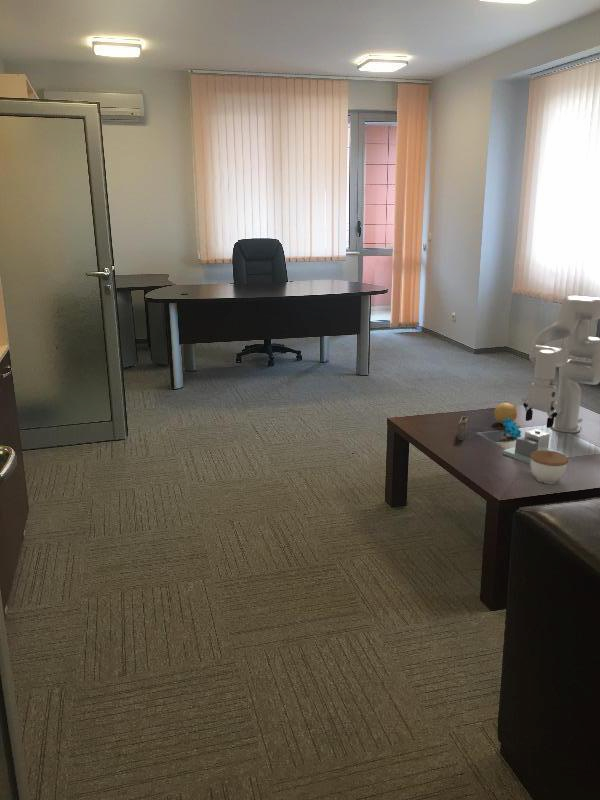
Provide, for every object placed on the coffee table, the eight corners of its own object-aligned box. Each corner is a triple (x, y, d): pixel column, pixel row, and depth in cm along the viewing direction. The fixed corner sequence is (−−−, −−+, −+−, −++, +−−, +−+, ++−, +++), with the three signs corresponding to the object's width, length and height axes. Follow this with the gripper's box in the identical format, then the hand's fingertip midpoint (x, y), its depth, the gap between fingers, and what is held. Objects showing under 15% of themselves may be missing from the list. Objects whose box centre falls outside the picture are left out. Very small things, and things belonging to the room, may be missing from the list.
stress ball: (496, 428, 294) (514, 418, 288) (486, 409, 297) (504, 398, 291) (506, 427, 301) (524, 417, 295) (497, 408, 304) (514, 398, 298)
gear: (513, 438, 274) (501, 417, 278) (503, 444, 278) (491, 424, 281) (527, 436, 281) (515, 416, 285) (517, 442, 285) (505, 423, 289)
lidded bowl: (535, 470, 244) (538, 442, 240) (569, 479, 236) (573, 450, 233) (522, 480, 234) (526, 451, 231) (558, 489, 226) (562, 460, 223)
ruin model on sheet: (464, 441, 275) (466, 419, 272) (457, 440, 276) (459, 418, 273) (468, 433, 285) (470, 412, 282) (461, 432, 286) (462, 411, 283)
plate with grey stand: (531, 445, 270) (533, 428, 268) (565, 457, 257) (567, 439, 255) (502, 453, 260) (504, 436, 258) (536, 466, 247) (539, 448, 245)
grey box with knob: (533, 447, 263) (536, 428, 261) (547, 452, 258) (550, 432, 256) (522, 451, 259) (525, 431, 257) (536, 455, 254) (539, 435, 252)
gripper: (569, 385, 246) (564, 427, 251) (531, 375, 259) (526, 416, 264) (557, 388, 242) (552, 431, 247) (519, 378, 255) (514, 419, 260)
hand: (538, 423), depth 255 cm, fingers open, 9 cm apart
